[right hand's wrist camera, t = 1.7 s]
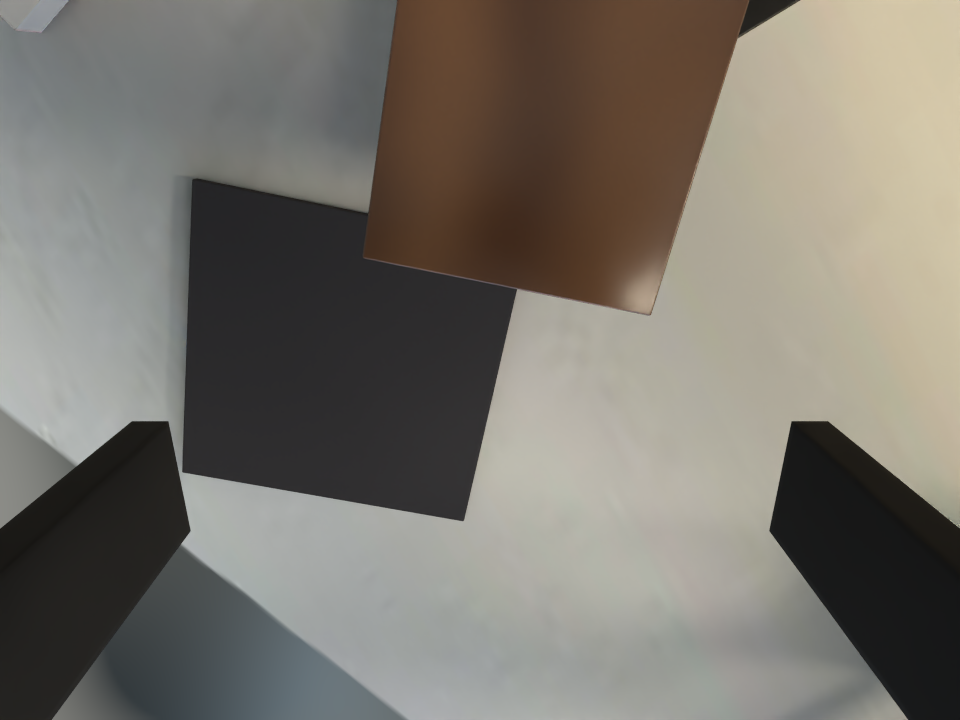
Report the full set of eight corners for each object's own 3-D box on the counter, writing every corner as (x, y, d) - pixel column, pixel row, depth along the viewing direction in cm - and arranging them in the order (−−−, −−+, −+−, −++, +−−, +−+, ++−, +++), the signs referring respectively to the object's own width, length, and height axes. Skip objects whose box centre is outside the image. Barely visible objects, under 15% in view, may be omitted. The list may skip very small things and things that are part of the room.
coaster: (525, 246, 37) (526, 247, 36) (463, 516, 43) (463, 521, 43) (196, 178, 35) (191, 179, 35) (185, 468, 42) (181, 472, 41)
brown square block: (696, 20, 22) (754, -14, 17) (619, 283, 25) (650, 316, 20) (426, -43, 21) (409, -96, 16) (385, 236, 24) (361, 258, 20)
